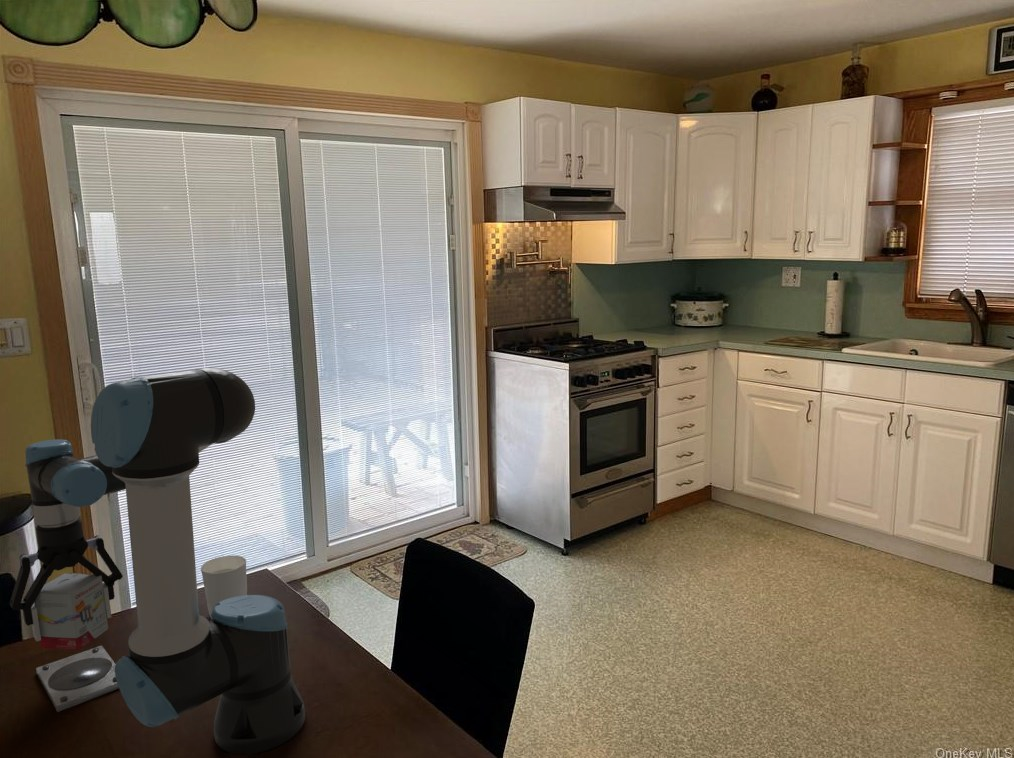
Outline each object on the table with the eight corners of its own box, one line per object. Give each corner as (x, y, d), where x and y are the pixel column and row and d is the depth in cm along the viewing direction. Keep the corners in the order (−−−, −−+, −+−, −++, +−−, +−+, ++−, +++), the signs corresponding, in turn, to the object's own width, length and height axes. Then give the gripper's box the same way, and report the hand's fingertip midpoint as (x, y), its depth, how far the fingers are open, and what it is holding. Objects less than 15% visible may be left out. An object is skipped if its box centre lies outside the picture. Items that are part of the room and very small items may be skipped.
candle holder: (242, 598, 178) (237, 551, 176) (257, 612, 170) (252, 564, 168) (200, 612, 172) (194, 563, 170) (214, 627, 164) (208, 577, 162)
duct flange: (127, 685, 143) (126, 678, 143) (57, 712, 135) (56, 704, 135) (102, 650, 156) (101, 644, 156) (36, 673, 148) (35, 666, 148)
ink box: (79, 651, 139) (70, 593, 137) (39, 648, 140) (30, 590, 138) (110, 628, 147) (102, 572, 145) (72, 625, 149) (64, 571, 147)
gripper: (120, 500, 151) (133, 599, 154) (-21, 533, 135) (-3, 642, 139) (131, 509, 145) (144, 612, 149) (-14, 544, 129) (4, 657, 133)
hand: (73, 626), depth 144 cm, fingers closed on ink box, 11 cm apart
